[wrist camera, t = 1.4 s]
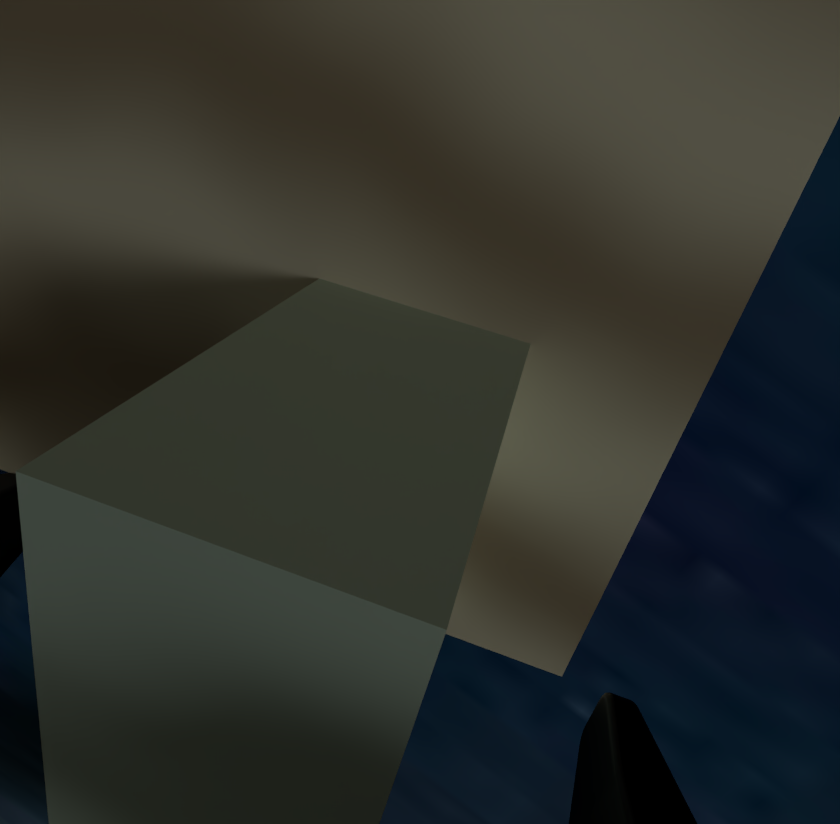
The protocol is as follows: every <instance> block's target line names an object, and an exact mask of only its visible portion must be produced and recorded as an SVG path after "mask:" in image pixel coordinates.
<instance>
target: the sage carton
mask: <svg viewBox="0 0 840 824" xmlns="http://www.w3.org/2000/svg"><path fill="white" fill-rule="evenodd" d="M529 348H530V343H527V342H523V341H520V340H517V339H514V338H510V337H507V336H504V335H501V334H498V333H494V332H491V331H488V330H485V329H481V328H478V327H475V326H472V325H468V324H465V323H462V322H459V321H455V320H452V319H449V318H446V317H442V316H439V315H436V314H433V313H430V312H426V311H423V310H420V309H417V308H413V307H410V306H407V305H404V304H400V303H397V302H394V301H391V300H387V299H384V298H381V297H378V296H375V295H371V294H368V293H365V292H362V291H358V290H355V289H352V288H349V287H345V286H342V285H339V284H336V283H332V282H329V281H326V280H323V279H320V278H319V279H318V280H316V281H315V282H313V283H312V284H310V285H308V286H307V287H305V288H304V289H302V290H301V291H299V292H297V293H296V294H294V295H293V296H291V297H290V298H288V299H286V300H285V301H283V302H282V303H280V304H278V305H277V306H275V307H274V308H272V309H271V310H269V311H267V312H266V313H264V314H263V315H261V316H260V317H258V318H256V319H255V320H253V321H252V322H250V323H249V324H247V325H245V326H244V327H242V328H241V329H239V330H237V331H236V332H234V333H233V334H231V335H230V336H228V337H226V338H225V339H223V340H222V341H220V342H219V343H217V344H215V345H214V346H212V347H211V348H209V349H208V350H206V351H204V352H203V353H201V354H200V355H198V356H196V357H195V358H193V359H192V360H190V361H189V362H187V363H185V364H184V365H182V366H181V367H179V368H178V369H176V370H174V371H173V372H171V373H170V374H168V375H167V376H165V377H163V378H162V379H160V380H159V381H157V382H155V383H154V384H152V385H151V386H149V387H148V388H146V389H144V390H143V391H141V392H140V393H138V394H137V395H135V396H133V397H132V398H130V399H129V400H127V401H126V402H124V403H122V404H121V405H119V406H118V407H116V408H114V409H113V410H111V411H110V412H108V413H107V414H105V415H103V416H102V417H100V418H99V419H97V420H96V421H94V422H92V423H91V424H89V425H88V426H86V427H85V428H83V429H81V430H80V431H78V432H77V433H75V434H73V435H72V436H70V437H69V438H67V439H66V440H64V441H62V442H61V443H59V444H58V445H56V446H55V447H53V448H51V449H50V450H48V451H47V452H45V453H44V454H42V455H40V456H39V457H37V458H36V459H34V460H32V461H31V462H29V463H28V464H26V465H25V466H23V467H21V468H20V469H18V470H17V471H16V481H17V492H18V502H19V513H20V524H21V534H22V545H23V555H24V566H25V576H26V587H27V598H28V608H29V619H30V629H31V640H32V650H33V661H34V672H35V682H36V693H37V703H38V714H39V724H40V735H41V746H42V756H43V767H44V777H45V788H46V798H47V809H48V820H49V824H379V823H380V820H381V817H382V814H383V811H384V808H385V805H386V803H387V800H388V797H389V794H390V791H391V788H392V785H393V782H394V780H395V777H396V774H397V771H398V768H399V765H400V762H401V760H402V757H403V754H404V751H405V748H406V745H407V742H408V739H409V737H410V734H411V731H412V728H413V725H414V722H415V719H416V716H417V714H418V711H419V708H420V705H421V702H422V699H423V696H424V694H425V691H426V688H427V685H428V682H429V679H430V676H431V673H432V671H433V668H434V665H435V662H436V659H437V656H438V653H439V650H440V648H441V645H442V642H443V639H444V636H445V633H446V630H447V627H448V624H449V620H450V617H451V613H452V610H453V607H454V603H455V600H456V596H457V593H458V590H459V586H460V583H461V579H462V576H463V573H464V569H465V566H466V562H467V559H468V555H469V552H470V549H471V545H472V542H473V538H474V535H475V532H476V528H477V525H478V521H479V518H480V515H481V511H482V508H483V504H484V501H485V498H486V494H487V491H488V487H489V484H490V480H491V477H492V474H493V470H494V467H495V463H496V460H497V457H498V453H499V450H500V446H501V443H502V440H503V436H504V433H505V429H506V426H507V423H508V419H509V416H510V412H511V409H512V405H513V402H514V399H515V395H516V392H517V388H518V385H519V382H520V378H521V375H522V371H523V368H524V365H525V361H526V358H527V354H528V351H529Z"/></svg>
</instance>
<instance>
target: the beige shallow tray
mask: <svg viewBox="0 0 840 824" xmlns="http://www.w3.org/2000/svg"><path fill="white" fill-rule="evenodd" d="M839 116H840V0H0V469H1V470H4V471H6V472H9V473H16V471H17V470H18V469H20V468H21V467H23V466H25V465H26V464H28V463H29V462H31V461H32V460H34V459H36V458H37V457H39V456H40V455H42V454H44V453H45V452H47V451H48V450H50V449H51V448H53V447H55V446H56V445H58V444H59V443H61V442H62V441H64V440H66V439H67V438H69V437H70V436H72V435H73V434H75V433H77V432H78V431H80V430H81V429H83V428H85V427H86V426H88V425H89V424H91V423H92V422H94V421H96V420H97V419H99V418H100V417H102V416H103V415H105V414H107V413H108V412H110V411H111V410H113V409H114V408H116V407H118V406H119V405H121V404H122V403H124V402H126V401H127V400H129V399H130V398H132V397H133V396H135V395H137V394H138V393H140V392H141V391H143V390H144V389H146V388H148V387H149V386H151V385H152V384H154V383H155V382H157V381H159V380H160V379H162V378H163V377H165V376H167V375H168V374H170V373H171V372H173V371H174V370H176V369H178V368H179V367H181V366H182V365H184V364H185V363H187V362H189V361H190V360H192V359H193V358H195V357H196V356H198V355H200V354H201V353H203V352H204V351H206V350H208V349H209V348H211V347H212V346H214V345H215V344H217V343H219V342H220V341H222V340H223V339H225V338H226V337H228V336H230V335H231V334H233V333H234V332H236V331H237V330H239V329H241V328H242V327H244V326H245V325H247V324H249V323H250V322H252V321H253V320H255V319H256V318H258V317H260V316H261V315H263V314H264V313H266V312H267V311H269V310H271V309H272V308H274V307H275V306H277V305H278V304H280V303H282V302H283V301H285V300H286V299H288V298H290V297H291V296H293V295H294V294H296V293H297V292H299V291H301V290H302V289H304V288H305V287H307V286H308V285H310V284H312V283H313V282H315V281H316V280H318V279H319V278H320V279H323V280H326V281H329V282H332V283H336V284H339V285H342V286H345V287H349V288H352V289H355V290H358V291H362V292H365V293H368V294H371V295H375V296H378V297H381V298H384V299H387V300H391V301H394V302H397V303H400V304H404V305H407V306H410V307H413V308H417V309H420V310H423V311H426V312H430V313H433V314H436V315H439V316H442V317H446V318H449V319H452V320H455V321H459V322H462V323H465V324H468V325H472V326H475V327H478V328H481V329H485V330H488V331H491V332H494V333H498V334H501V335H504V336H507V337H510V338H514V339H517V340H520V341H523V342H527V343H530V348H529V351H528V354H527V358H526V361H525V365H524V368H523V371H522V375H521V378H520V382H519V385H518V388H517V392H516V395H515V399H514V402H513V405H512V409H511V412H510V416H509V419H508V423H507V426H506V429H505V433H504V436H503V440H502V443H501V446H500V450H499V453H498V457H497V460H496V463H495V467H494V470H493V474H492V477H491V480H490V484H489V487H488V491H487V494H486V498H485V501H484V504H483V508H482V511H481V515H480V518H479V521H478V525H477V528H476V532H475V535H474V538H473V542H472V545H471V549H470V552H469V555H468V559H467V562H466V566H465V569H464V573H463V576H462V579H461V583H460V586H459V590H458V593H457V596H456V600H455V603H454V607H453V610H452V613H451V617H450V620H449V624H448V627H447V630H446V633H445V634H448V635H451V636H453V637H456V638H459V639H461V640H464V641H467V642H470V643H472V644H475V645H478V646H480V647H483V648H486V649H489V650H491V651H494V652H497V653H499V654H502V655H505V656H508V657H510V658H513V659H516V660H518V661H521V662H524V663H526V664H529V665H532V666H535V667H537V668H540V669H543V670H545V671H548V672H551V673H554V674H556V675H559V676H562V675H563V673H564V671H565V669H566V667H567V665H568V663H569V661H570V659H571V657H572V655H573V653H574V651H575V649H576V647H577V645H578V643H579V641H580V639H581V637H582V635H583V633H584V631H585V629H586V627H587V625H588V623H589V621H590V619H591V617H592V615H593V613H594V611H595V609H596V607H597V604H598V602H599V600H600V598H601V596H602V594H603V592H604V590H605V588H606V586H607V584H608V582H609V580H610V578H611V576H612V574H613V572H614V570H615V568H616V566H617V564H618V562H619V560H620V558H621V556H622V554H623V552H624V550H625V548H626V546H627V544H628V542H629V540H630V538H631V536H632V534H633V532H634V530H635V528H636V526H637V524H638V522H639V520H640V518H641V516H642V514H643V512H644V510H645V508H646V506H647V504H648V502H649V500H650V498H651V496H652V494H653V492H654V489H655V487H656V485H657V483H658V481H659V479H660V477H661V475H662V473H663V471H664V469H665V467H666V465H667V463H668V461H669V459H670V457H671V455H672V453H673V451H674V449H675V447H676V445H677V443H678V441H679V439H680V437H681V435H682V433H683V431H684V429H685V427H686V425H687V423H688V421H689V419H690V417H691V415H692V413H693V411H694V409H695V407H696V405H697V403H698V401H699V399H700V397H701V395H702V393H703V391H704V389H705V387H706V385H707V383H708V381H709V379H710V377H711V375H712V372H713V370H714V368H715V366H716V364H717V362H718V360H719V358H720V356H721V354H722V352H723V350H724V348H725V346H726V344H727V342H728V340H729V338H730V336H731V334H732V332H733V330H734V328H735V326H736V324H737V322H738V320H739V318H740V316H741V314H742V312H743V310H744V308H745V306H746V304H747V302H748V300H749V298H750V296H751V294H752V292H753V290H754V288H755V286H756V284H757V282H758V280H759V278H760V276H761V274H762V272H763V270H764V268H765V266H766V264H767V262H768V260H769V257H770V255H771V253H772V251H773V249H774V247H775V245H776V243H777V241H778V239H779V237H780V235H781V233H782V231H783V229H784V227H785V225H786V223H787V221H788V219H789V217H790V215H791V213H792V211H793V209H794V207H795V205H796V203H797V201H798V199H799V197H800V195H801V193H802V191H803V189H804V187H805V185H806V183H807V181H808V179H809V177H810V175H811V173H812V171H813V169H814V167H815V165H816V163H817V161H818V159H819V157H820V155H821V153H822V151H823V149H824V147H825V145H826V142H827V140H828V138H829V136H830V134H831V132H832V130H833V128H834V126H835V124H836V122H837V120H838V118H839Z"/></svg>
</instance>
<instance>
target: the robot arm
mask: <svg viewBox="0 0 840 824" xmlns="http://www.w3.org/2000/svg"><path fill="white" fill-rule="evenodd" d="M22 551H23V545H22V534H21V524H20V513H19V502H18V492H17V481H16V473H5V474H1V475H0V577H1V576H2V575H3V574H4V572H5V571H6V570H7V569H8V568H9V567H10V565H11V564H12V563H13V562H14V561H15V560H16V558H17V557H18V556H19V555H20V554H21V553H22ZM569 824H697V822H696V820H695V818H694V817H693V815H692V813H691V811H690V809H689V807H688V805H687V803H686V801H685V799H684V797H683V795H682V793H681V791H680V789H679V787H678V785H677V783H676V781H675V779H674V777H673V775H672V773H671V771H670V769H669V767H668V765H667V763H666V762H665V760H664V758H663V756H662V754H661V752H660V750H659V748H658V746H657V744H656V742H655V740H654V738H653V736H652V734H651V732H650V730H649V728H648V726H647V724H646V722H645V720H644V718H643V716H642V714H641V712H640V710H639V708H638V707H637V705H636V704H635V703H634V702H633V701H631V700H629V699H626V698H623V697H620V696H618V695H615V694H612V693H605V694H604V695H603V696H602V697H601V698H600V700H599V702H598V704H597V706H596V707H595V709H594V711H593V713H592V715H591V717H590V718H589V720H588V722H587V724H586V726H585V728H584V730H583V733H582V736H581V741H580V746H579V753H578V761H577V768H576V775H575V782H574V790H573V797H572V804H571V812H570V819H569Z"/></svg>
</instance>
